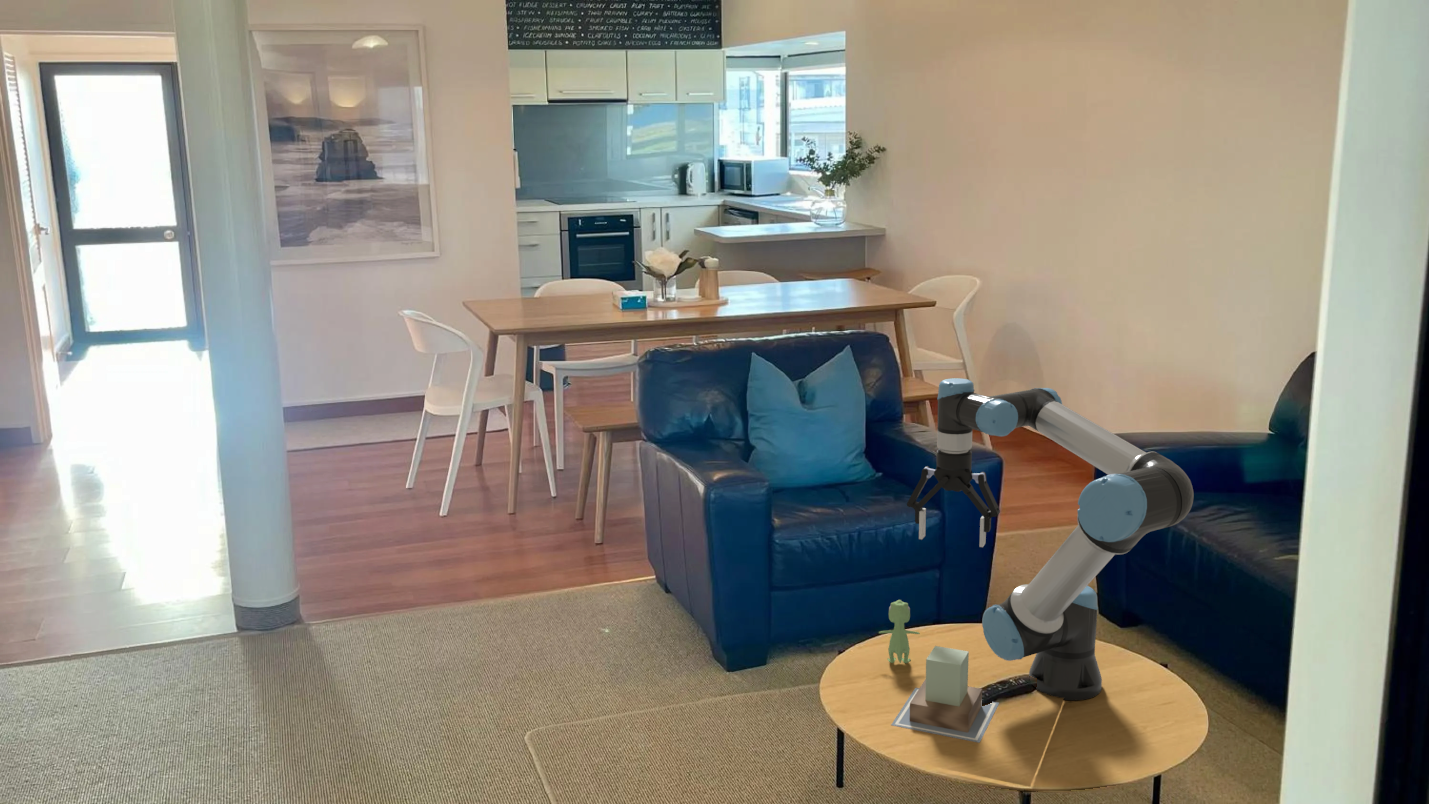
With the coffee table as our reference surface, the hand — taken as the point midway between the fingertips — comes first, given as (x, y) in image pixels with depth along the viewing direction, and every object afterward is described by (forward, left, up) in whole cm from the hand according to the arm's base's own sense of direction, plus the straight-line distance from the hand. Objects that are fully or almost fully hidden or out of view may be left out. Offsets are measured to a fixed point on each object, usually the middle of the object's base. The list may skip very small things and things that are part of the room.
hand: (951, 541), depth 262 cm
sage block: (-6, +26, -24) cm, 36 cm away
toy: (+10, +6, -29) cm, 31 cm away
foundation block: (-6, +26, -28) cm, 39 cm away
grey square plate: (-6, +26, -29) cm, 39 cm away
